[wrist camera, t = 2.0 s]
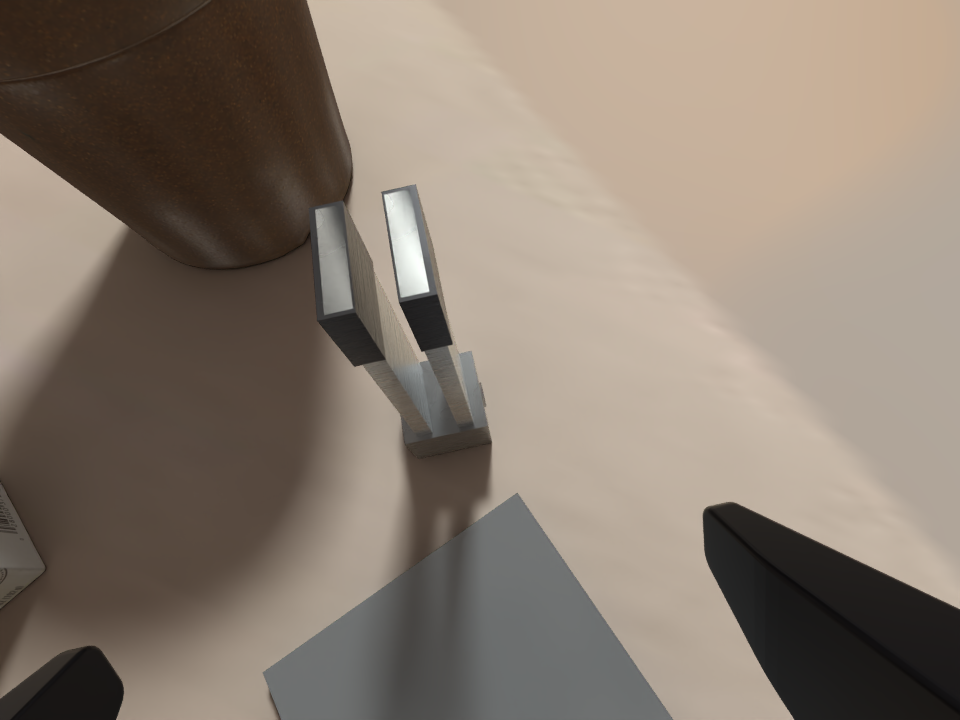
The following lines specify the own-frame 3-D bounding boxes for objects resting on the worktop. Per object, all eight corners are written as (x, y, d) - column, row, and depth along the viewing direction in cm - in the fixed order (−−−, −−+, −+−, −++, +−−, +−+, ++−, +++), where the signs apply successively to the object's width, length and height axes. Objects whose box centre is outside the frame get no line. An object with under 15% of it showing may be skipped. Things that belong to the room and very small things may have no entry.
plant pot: (418, 262, 25) (264, -186, 10) (103, 347, 25) (-525, 5, 10) (366, 60, 32) (228, -389, 17) (117, 124, 31) (-245, -280, 17)
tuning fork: (494, 442, 21) (459, 293, 10) (415, 459, 21) (295, 329, 10) (479, 373, 22) (433, 176, 11) (405, 390, 22) (288, 208, 11)
